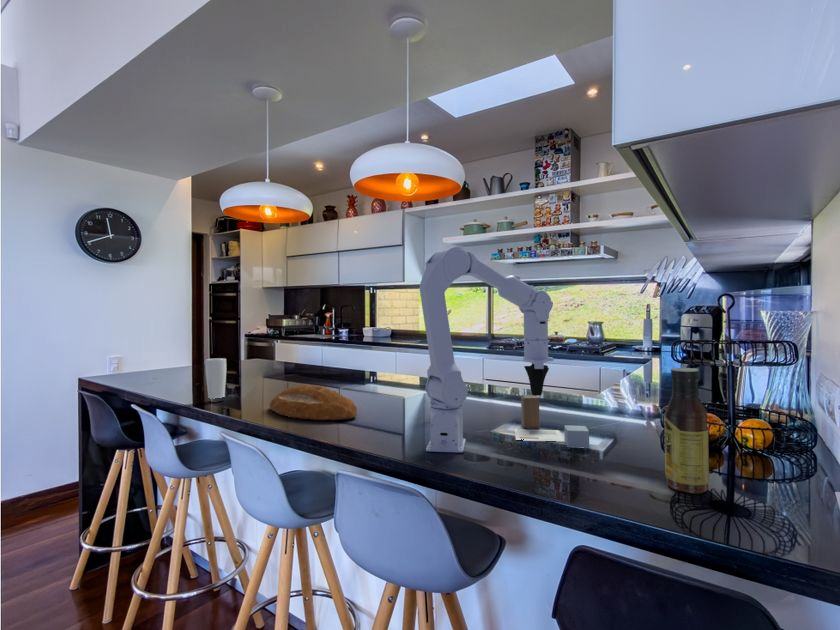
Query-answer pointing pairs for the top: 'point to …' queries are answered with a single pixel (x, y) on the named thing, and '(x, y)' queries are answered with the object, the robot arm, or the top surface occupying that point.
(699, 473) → the sauce bottle
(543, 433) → the letter
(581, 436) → the slate cube
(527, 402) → the wooden block
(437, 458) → the top surface
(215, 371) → the drinking glass
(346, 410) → the bread
